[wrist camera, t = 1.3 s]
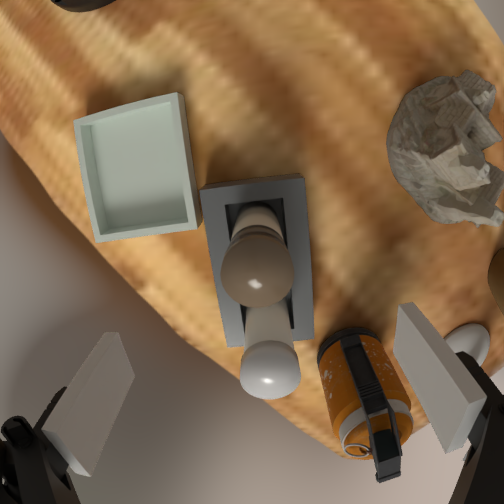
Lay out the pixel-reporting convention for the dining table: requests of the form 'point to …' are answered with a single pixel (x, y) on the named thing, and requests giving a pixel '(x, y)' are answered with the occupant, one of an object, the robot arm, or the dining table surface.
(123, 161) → the parts tray
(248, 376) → the cylinder
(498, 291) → the plant pot
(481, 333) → the candlestick
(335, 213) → the dining table surface
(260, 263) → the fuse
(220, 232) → the block
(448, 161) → the grey jagged lump
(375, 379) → the canister
